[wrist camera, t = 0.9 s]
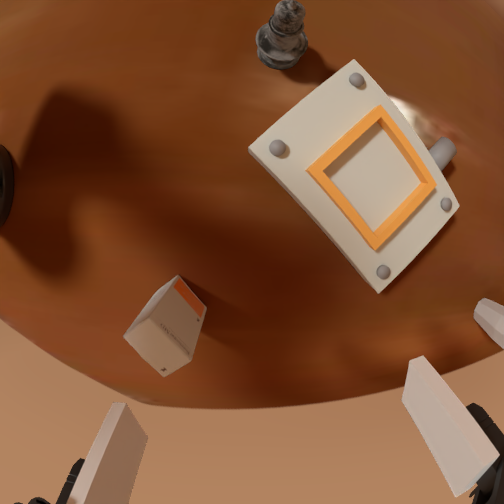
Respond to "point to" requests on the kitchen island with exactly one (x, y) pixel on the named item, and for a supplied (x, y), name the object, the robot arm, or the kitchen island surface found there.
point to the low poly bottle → (491, 319)
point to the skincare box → (168, 327)
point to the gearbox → (361, 173)
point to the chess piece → (283, 36)
